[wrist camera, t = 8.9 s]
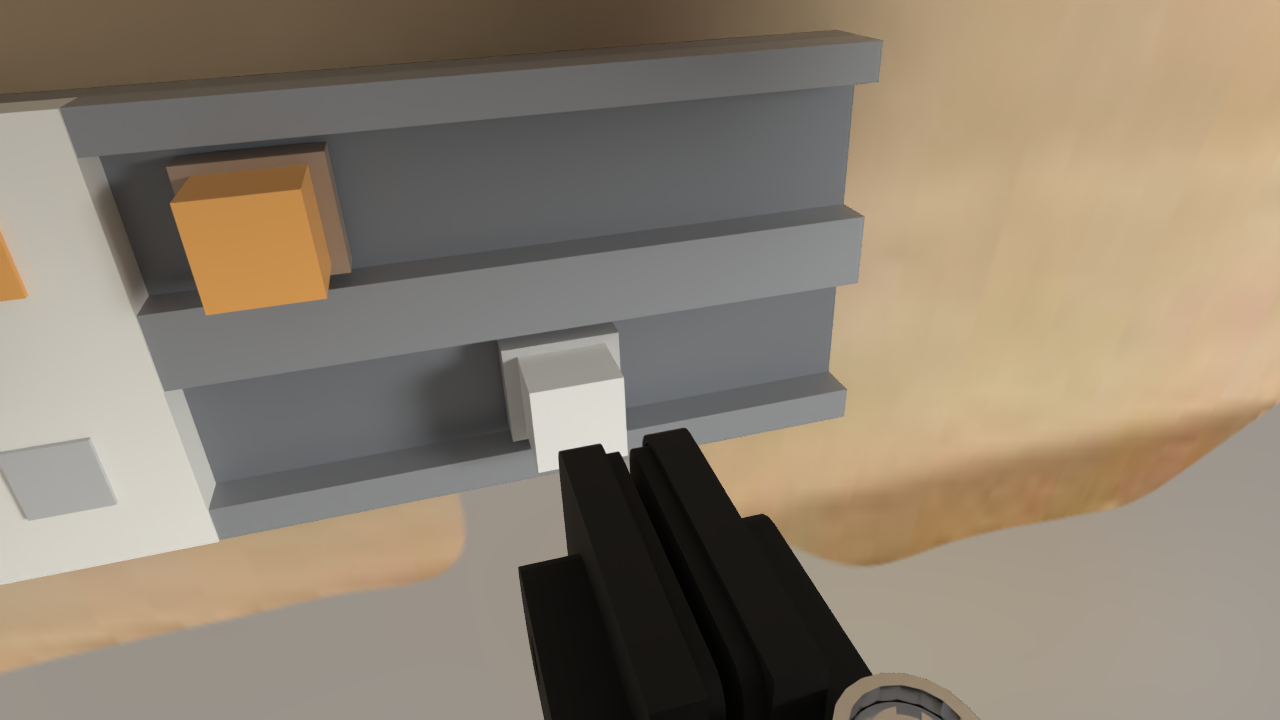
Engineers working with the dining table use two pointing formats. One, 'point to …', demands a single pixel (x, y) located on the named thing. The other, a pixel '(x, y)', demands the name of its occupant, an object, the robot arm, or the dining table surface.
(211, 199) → the tab orange
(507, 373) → the tab white
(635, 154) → the switch panel
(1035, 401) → the dining table surface
